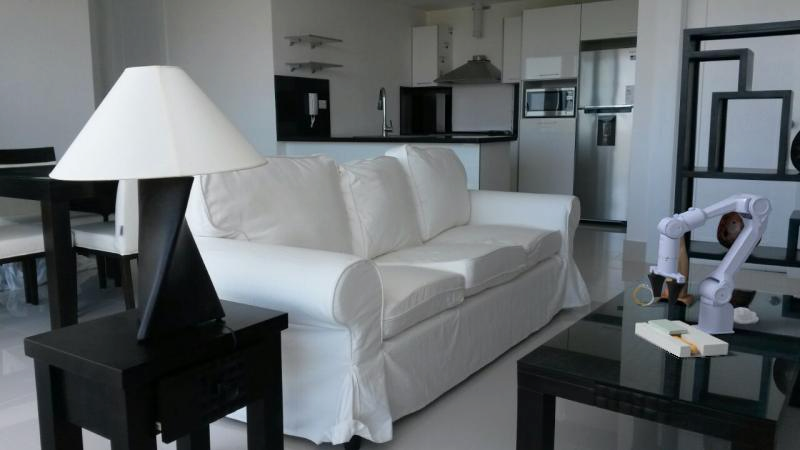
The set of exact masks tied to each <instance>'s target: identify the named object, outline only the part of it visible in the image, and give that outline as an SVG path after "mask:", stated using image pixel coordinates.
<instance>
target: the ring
mask: <svg viewBox="0 0 800 450" xmlns="http://www.w3.org/2000/svg"><path fill="white" fill-rule="evenodd" d="M642 289H647V290H649V291H650V292H651V294H652V299H651V300H650V301H649V302H646V303H645V302H641V301H639V300H638V299H637V296H636V293H637V292H639V291H640V290H642ZM632 296H633V300H634V301H635V302H636V304H637V305H640V306H642V307H645V306H649V305H651V304H652V303H653V302H654V300H655V299H656V297H654V296H653V291H652V287H650V284H648V285H647V283H646V282H645V283H639V284H638V285H637V287H636V288H635V289H634V291H633V295H632Z"/></svg>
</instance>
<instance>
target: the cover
mask: <svg viewBox="0 0 800 450" xmlns="http://www.w3.org/2000/svg"><path fill="white" fill-rule="evenodd" d="M671 321H672V320H669V319H667V318H664V319H655V320H654V319H652V320H648V322H647V324H649V325H651V326H653V327H655V328H657V329H659V330H661V331H663V332H665V333H667V334H669V335H670V334H680V333H688V329H686V328H684V327H682V326H680V325H677V324H675V323H673V322H671Z"/></svg>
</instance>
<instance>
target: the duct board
mask: <svg viewBox="0 0 800 450" xmlns="http://www.w3.org/2000/svg"><path fill="white" fill-rule="evenodd" d="M670 321H671V322H673V323H675V324H677V325H680V326H682V327H684V328H686V329H688V333H680V334H673V335H675V336H677V337H679V338H681V339H683V340H685V341H687V342H689V343H691V344H693V345H695V346H696V347H697V349H698V351H697V353H695V354H691V346H690V345H688V344H686V343H684V342H682V341H681V340H679V339H677V338H675V337H673V336H671V335H669V334H667V333H665V332H663V331H661V330H659V329H657V328H655V327H654V326H652V325H650V324H648V322H635V331H634V335H636V336H638V337H639V338H640V339H641V338H642V339H643V340H645V341H646V342H648V343H650V344H652V345H653V344H654V346H655V345H656V347H657V346H658V347H657V348H659V347H660V348H659V349H661V348H662V349H664V350H666V351H668V352H669V353H668V352H667V353H668V354H670V353H672V354H674V355H676V356H678V357H681V358H682V357H701V358H706V357H705V356H716V357H719V356H718V355H727V356H728V350H729V343H728V342H726V341H725V340H722V339H719V338H718V337H715V336H713V335H712V334H707V333H705V332H703V331H700V330H698V329H696V328H694V327H692V325H690V324H688V323H686V322H683V321H681V320H670ZM662 349H661V350H662ZM664 350H663V351H664ZM666 351H665V352H666Z"/></svg>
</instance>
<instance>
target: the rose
mask: <svg viewBox="0 0 800 450" xmlns="http://www.w3.org/2000/svg"><path fill="white" fill-rule="evenodd" d="M759 320H760V318H759V317H758V316H757V313H756V312H755V311H752V310H751V311H750V309H749V308H747V307H742V306H741V307H740V306H739V307H736V308H734V321H733V323H735V324H740V325H754V324H757V323H758V321H759Z"/></svg>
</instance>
